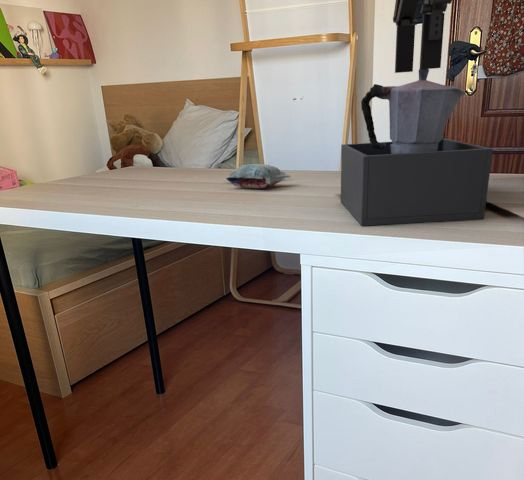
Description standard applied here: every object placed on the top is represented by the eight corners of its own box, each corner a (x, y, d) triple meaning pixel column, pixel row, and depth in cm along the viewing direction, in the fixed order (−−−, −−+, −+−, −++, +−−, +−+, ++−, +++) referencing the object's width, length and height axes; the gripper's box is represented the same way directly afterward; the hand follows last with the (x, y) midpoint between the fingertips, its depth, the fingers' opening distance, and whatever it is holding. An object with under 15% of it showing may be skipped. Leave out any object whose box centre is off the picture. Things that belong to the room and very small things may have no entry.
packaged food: (249, 182, 124) (248, 160, 122) (291, 185, 118) (290, 162, 115) (225, 189, 118) (223, 166, 116) (268, 192, 112) (266, 168, 109)
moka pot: (457, 208, 82) (473, 63, 74) (357, 210, 85) (361, 71, 76) (449, 197, 91) (462, 66, 82) (359, 199, 94) (362, 72, 85)
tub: (440, 196, 97) (446, 138, 93) (483, 218, 80) (493, 148, 75) (340, 202, 97) (341, 144, 93) (361, 226, 80) (363, 156, 75)
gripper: (377, -80, 81) (373, 75, 91) (426, -146, 59) (414, 69, 68) (425, -84, 81) (416, 71, 91) (493, -151, 59) (472, 64, 68)
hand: (415, 71), depth 79 cm, fingers open, 13 cm apart
